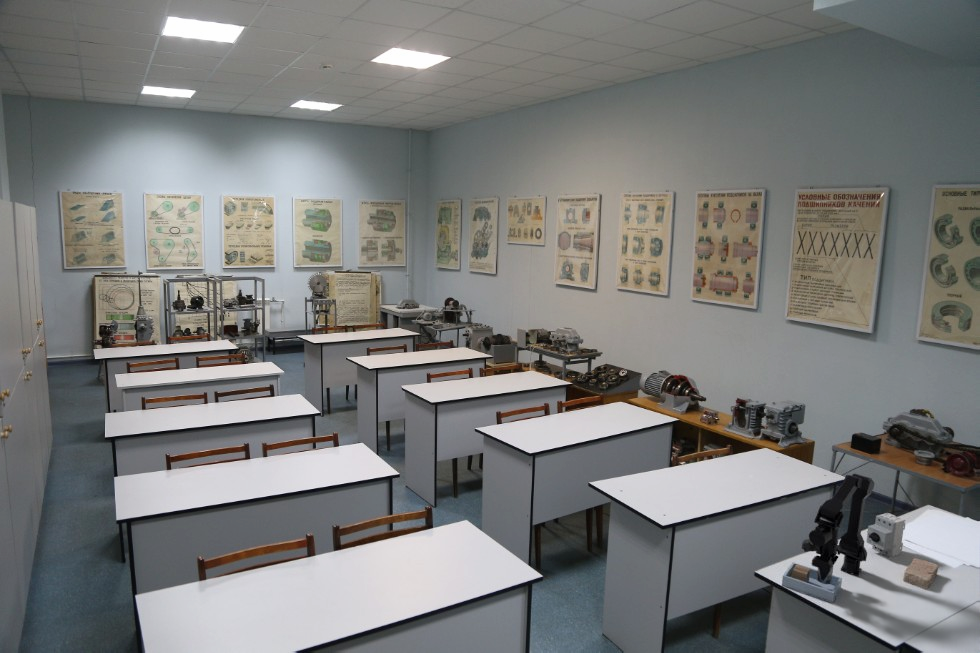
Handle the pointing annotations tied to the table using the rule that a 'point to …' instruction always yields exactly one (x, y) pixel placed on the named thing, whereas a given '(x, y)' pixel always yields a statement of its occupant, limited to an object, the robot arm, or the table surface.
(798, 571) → the walnut cube
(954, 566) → the table surface
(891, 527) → the circuit breaker
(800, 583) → the tote
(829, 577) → the steel cylinder
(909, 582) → the brick
